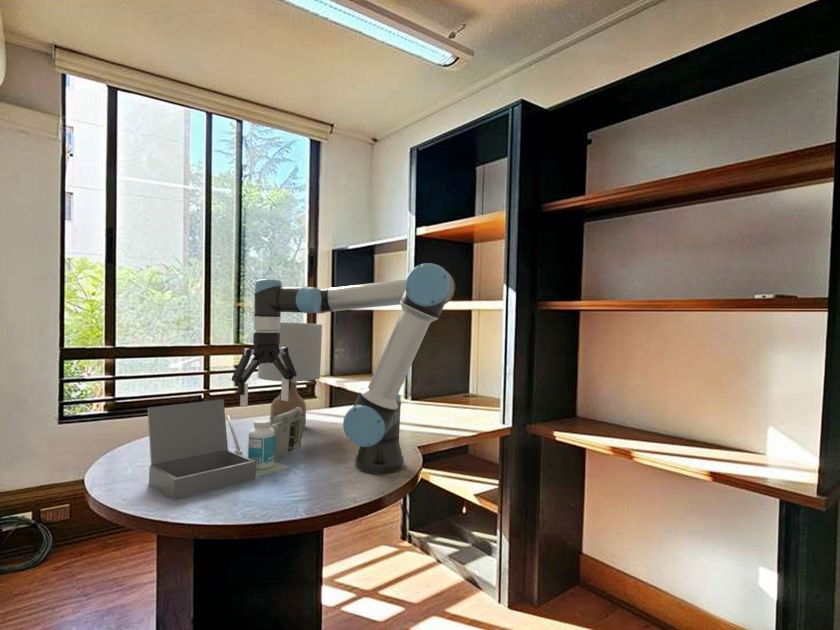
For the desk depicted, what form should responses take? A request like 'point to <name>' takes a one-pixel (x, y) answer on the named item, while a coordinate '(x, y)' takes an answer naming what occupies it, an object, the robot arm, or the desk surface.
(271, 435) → the pill bottle
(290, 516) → the desk surface
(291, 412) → the geiger counter
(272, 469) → the mat
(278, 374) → the lamp
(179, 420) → the case
